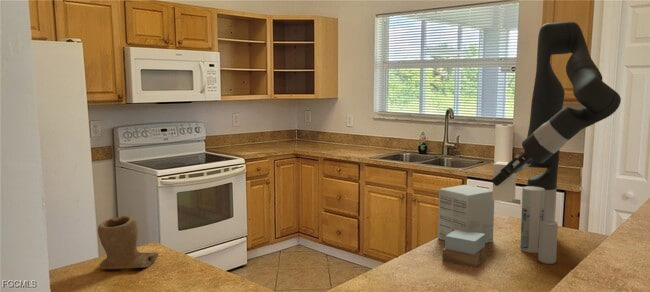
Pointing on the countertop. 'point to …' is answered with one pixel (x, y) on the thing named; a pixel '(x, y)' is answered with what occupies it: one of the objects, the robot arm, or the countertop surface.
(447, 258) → the walnut base block
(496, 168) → the cream block
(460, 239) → the slate-blue top block
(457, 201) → the supplement box
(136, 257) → the stone cup
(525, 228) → the spray can
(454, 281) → the countertop surface
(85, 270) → the countertop surface
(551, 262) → the beverage can
